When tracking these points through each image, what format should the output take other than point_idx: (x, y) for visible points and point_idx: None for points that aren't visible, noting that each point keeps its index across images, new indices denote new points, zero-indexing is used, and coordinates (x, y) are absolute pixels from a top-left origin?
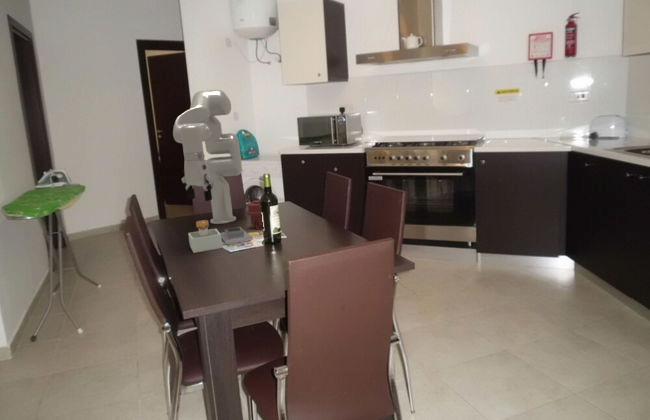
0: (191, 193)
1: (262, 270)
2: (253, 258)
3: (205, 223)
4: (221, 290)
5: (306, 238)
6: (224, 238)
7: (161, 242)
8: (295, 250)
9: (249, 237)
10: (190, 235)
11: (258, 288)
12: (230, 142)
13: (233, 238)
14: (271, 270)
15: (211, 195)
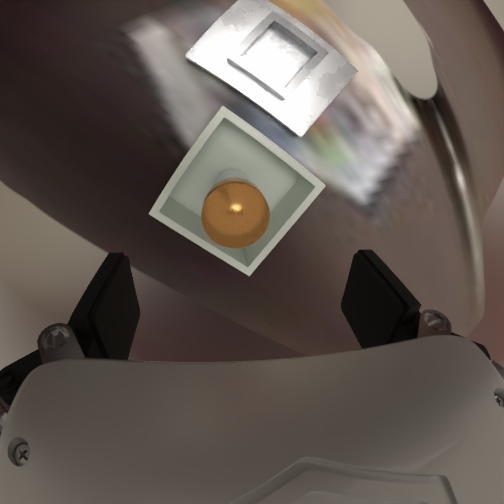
0: (121, 323)
1: (463, 279)
2: (437, 231)
3: (267, 221)
4: None
5: (470, 56)
6: (274, 115)
7: (38, 207)
8: (487, 156)
9: (354, 73)
10: (196, 240)
11: (464, 327)
12: None
13: (317, 112)
14: (473, 273)
15: (386, 269)
